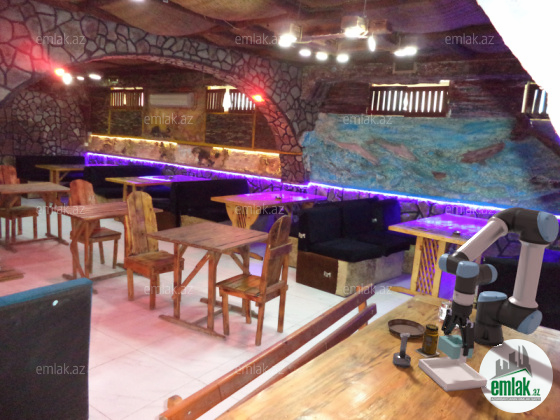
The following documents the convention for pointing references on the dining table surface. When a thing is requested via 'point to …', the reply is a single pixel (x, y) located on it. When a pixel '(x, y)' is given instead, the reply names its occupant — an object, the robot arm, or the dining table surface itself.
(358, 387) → the dining table surface
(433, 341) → the condiment
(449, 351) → the collar
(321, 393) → the dining table surface
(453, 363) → the tray
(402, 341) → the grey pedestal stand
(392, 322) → the plant saucer
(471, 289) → the robot arm
